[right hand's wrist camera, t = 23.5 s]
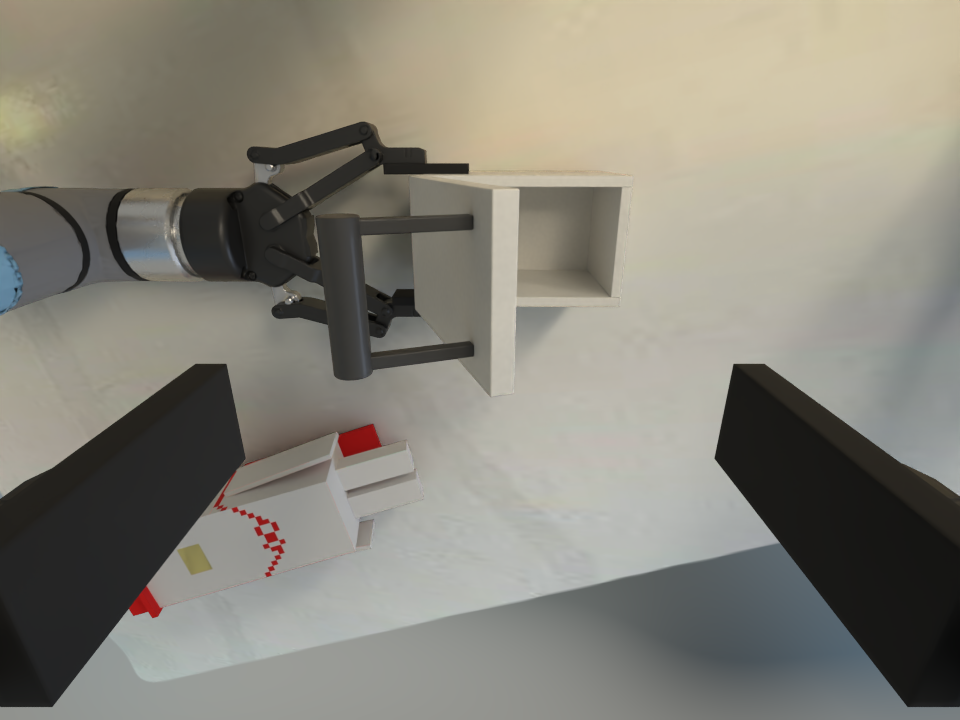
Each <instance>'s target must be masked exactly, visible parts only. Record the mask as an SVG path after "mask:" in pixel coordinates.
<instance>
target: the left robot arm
mask: <svg viewBox="0 0 960 720" xmlns="http://www.w3.org/2000/svg"><path fill="white" fill-rule="evenodd" d="M361 143H362V144H363V147H364V149H365V152H364V153H362V154H361V155H359V156H358V157H356V158H354V159H353V160H351V161H350V162H348V163H347V164H345V165H343V166H342V167H340V168H339V169H337V170H335V171H334V172H332V173H331V174H329V175H328V176H326V177H324V178H323V179H321V180H320V181H318V182H317V183H315V184H313V185H312V186H310V187H309V188H307V189H305V190H304V191H302V192H300V193H298V194H296V195H295V196H293V197H291V196H290V195H289V194H287V193H286V192H284V191H283V190H281V189H280V188H278V187H277V186H275V185H274V184H272V179H273V177H274V176H276V175H280V174H282V173H283V172H284V165H286V164H295V163H299V162H302V161H306V160H309V159H312V158H315V157H319V156H322V155H325V154H328V153H332V152H335V151H338V150H341V149H345V148H348V147H351V146H354V145H358V144H361ZM247 156H248V159H249V160H250V161H251V162H252V163H254V173H255V183H254V184H252V185H250V186H249V187H247V188H197V189H194V190H193V191H192V190H190V189H188V188H136V189H92V188H58V187H27V188H21V189H10V190H5V191H1V192H0V315H3V314H5V313H6V312H8V311H10V310H13V309H16V308H18V307H21V306H24V305H27V304H30V303H32V302H35V301H38V300H41V299H44V298H47V297H49V296H52V295H55V294H60V293H64V292H67V291H71V290H74V289H77V288H80V287H83V286H86V285H89V284H92V283H97V282H106V281H191V282H197V281H202V280H203V279H205V280H207V281H256V282H261V283H264V284H266V285H268V286H270V287H271V288H272V292H273V297H274V301H275V306H274V307H273V308H272V314H273V316H274V317H275V318H278V319H284V318H297V317H300V318H304V319H308V320H311V321H315V322H319V323H323V324H327V325H328V319H327V311H326V302H325V301H323V300H319V299H315V298H311V297H301V294H300V293H299V292H297V291H294V290H291V289H289V288H288V287H287V284H286V283H287V282H288V281H290V280H291V279H292V278H293V277H295V276H296V275H297V276H299V277H301V278H303V279H305V280H307V281H309V282H314V283H317V284H319V285H321V286H323V287H324V285H323V276H322V268H321V259H320V257H318V256H316V253H318V248H317V242H316V240H315V237H314V234H313V233H314V226H315V223H314V215H311V213H310V211H309V210H311V209H312V208H314V207H316V206H317V205H319V204H320V203H322V202H323V201H324V200H326V199H327V198H329V197H331V196H332V195H334V194H335V193H337V192H339V191H340V190H342V189H343V188H345V187H347V186H348V185H350V184H351V183H353V182H355V181H356V180H358V179H359V178H361V177H363V176H364V175H366V174H367V173H369V172H371V171H372V170H374V169H375V168H377V167H379V166H380V165H382V164H383V167H384V174H469V164H427V158H426V150H423V149H421V148H388V147H386V146H384V145H383V144H382V142H381V140H380V138H379V135H378V131H377V128H376V126H374V125H373V124H370V123H367V122H359V123H356V124H353V125H350V126H346V127H343V128H340V129H337V130H334V131H330V132H327V133H324V134H321V135H318V136H314V137H311V138H308V139H305V140H302V141H298V142H295V143H292V144H289V145H286V146H282V147H279V148H271V147H250V148H249V149H248V151H247ZM365 286H366V298H367V310H369V311H371V312H373V313H375V314H373V313H369V312H368V322H369V333H370V336H373V337H377V338H382V337H384V336H385V334H386V332H387V331H388V329H389V327H390V323H391V320H392V318H394V317H413V316H414V317H418V316H419V317H421V315H420V314H419V313H418V312H417V311H416V310H415V296H414V289H397V290H396V291H395V293H394V295H393V296H392V297H390V296H388V295H386V294H384V293H382V292H380V291H378V290H376V289H375V288H373V287H371V286H369V285H367V284H365ZM376 314H377V315H376Z"/></svg>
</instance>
